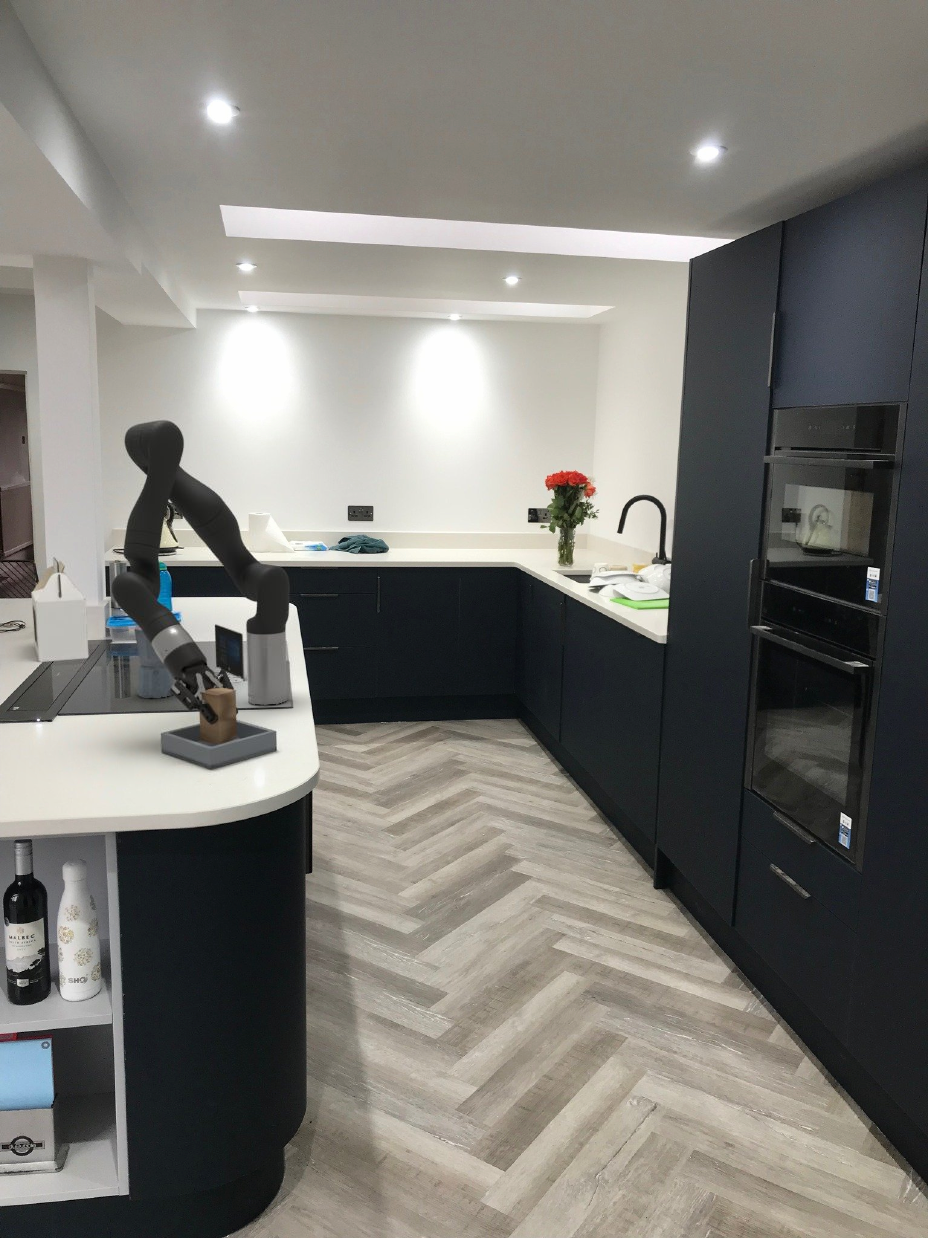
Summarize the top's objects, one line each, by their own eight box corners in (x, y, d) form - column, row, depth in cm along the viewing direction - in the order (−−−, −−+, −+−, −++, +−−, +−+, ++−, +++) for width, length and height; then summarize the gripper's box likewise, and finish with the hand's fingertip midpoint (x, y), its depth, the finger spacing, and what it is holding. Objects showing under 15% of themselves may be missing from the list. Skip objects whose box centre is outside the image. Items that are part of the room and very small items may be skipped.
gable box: (88, 658, 275) (83, 562, 270) (39, 662, 269) (32, 564, 264) (81, 645, 294) (76, 555, 290) (34, 648, 288) (29, 556, 284)
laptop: (173, 675, 256) (171, 628, 254) (217, 669, 264) (216, 623, 262) (199, 688, 242) (197, 638, 240) (244, 682, 250) (243, 633, 248)
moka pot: (148, 703, 226) (144, 620, 222) (124, 691, 237) (120, 612, 234) (186, 697, 232) (183, 617, 228) (161, 685, 243) (158, 608, 240)
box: (227, 735, 201) (226, 716, 200) (276, 750, 191) (276, 731, 190) (161, 752, 189) (160, 733, 188) (210, 769, 179) (209, 749, 178)
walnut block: (218, 734, 193) (216, 686, 191) (236, 738, 190) (235, 690, 189) (200, 740, 188) (198, 692, 187) (219, 744, 186) (217, 695, 184)
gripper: (160, 646, 184) (209, 715, 180) (213, 635, 196) (259, 699, 192) (142, 670, 187) (189, 738, 183) (195, 657, 199) (240, 721, 196)
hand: (225, 718), depth 188 cm, fingers closed on walnut block, 5 cm apart
